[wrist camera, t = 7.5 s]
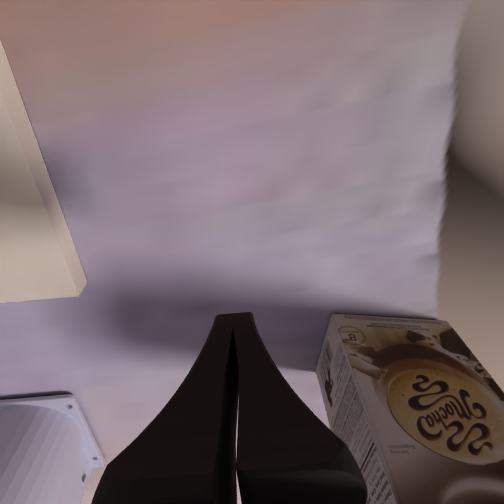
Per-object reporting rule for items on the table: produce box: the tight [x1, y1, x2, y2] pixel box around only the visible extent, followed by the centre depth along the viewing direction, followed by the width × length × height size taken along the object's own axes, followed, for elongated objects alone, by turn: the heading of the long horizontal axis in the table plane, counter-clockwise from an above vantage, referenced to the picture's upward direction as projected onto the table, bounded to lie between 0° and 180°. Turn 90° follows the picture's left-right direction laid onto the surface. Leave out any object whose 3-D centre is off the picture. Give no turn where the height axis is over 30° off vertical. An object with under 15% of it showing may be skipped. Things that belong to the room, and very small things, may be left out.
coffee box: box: [316, 314, 504, 504], centre depth 20 cm, size 9×6×16 cm
